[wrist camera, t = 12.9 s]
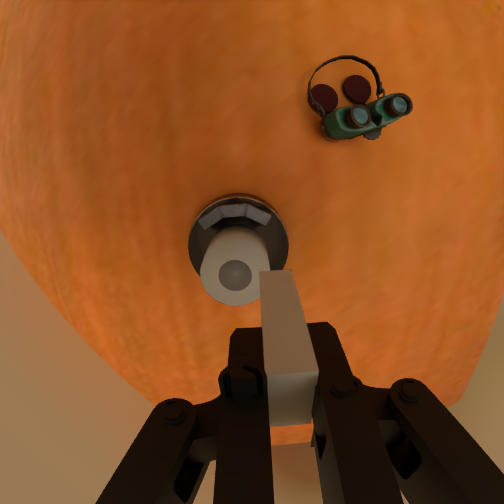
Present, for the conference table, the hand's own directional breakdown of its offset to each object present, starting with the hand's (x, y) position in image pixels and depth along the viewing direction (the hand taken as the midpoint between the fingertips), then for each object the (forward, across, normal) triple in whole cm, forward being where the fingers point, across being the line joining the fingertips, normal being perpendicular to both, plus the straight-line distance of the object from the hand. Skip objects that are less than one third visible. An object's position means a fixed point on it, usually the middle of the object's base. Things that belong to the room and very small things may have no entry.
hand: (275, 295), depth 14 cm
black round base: (+22, -3, -4) cm, 22 cm away
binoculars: (+23, +10, +12) cm, 27 cm away
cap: (+18, -3, -5) cm, 19 cm away
